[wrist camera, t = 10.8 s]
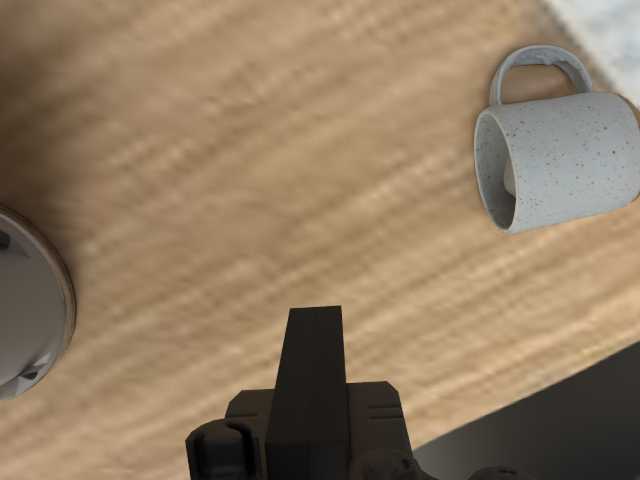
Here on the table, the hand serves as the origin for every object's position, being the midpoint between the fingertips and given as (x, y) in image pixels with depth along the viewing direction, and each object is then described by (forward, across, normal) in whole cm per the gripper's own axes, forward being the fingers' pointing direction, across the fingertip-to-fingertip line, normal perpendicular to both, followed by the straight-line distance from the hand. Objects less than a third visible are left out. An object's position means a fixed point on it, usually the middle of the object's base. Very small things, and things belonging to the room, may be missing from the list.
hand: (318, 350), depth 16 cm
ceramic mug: (+23, +14, +4) cm, 27 cm away
